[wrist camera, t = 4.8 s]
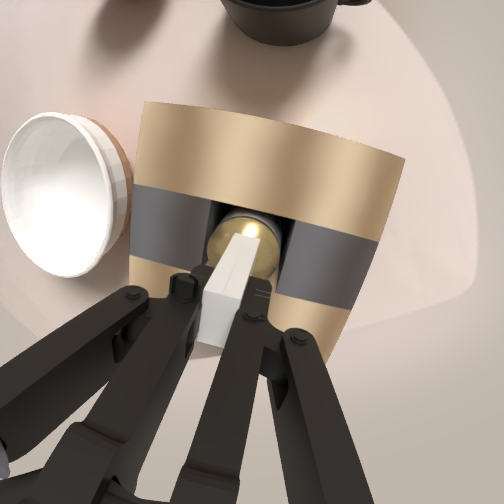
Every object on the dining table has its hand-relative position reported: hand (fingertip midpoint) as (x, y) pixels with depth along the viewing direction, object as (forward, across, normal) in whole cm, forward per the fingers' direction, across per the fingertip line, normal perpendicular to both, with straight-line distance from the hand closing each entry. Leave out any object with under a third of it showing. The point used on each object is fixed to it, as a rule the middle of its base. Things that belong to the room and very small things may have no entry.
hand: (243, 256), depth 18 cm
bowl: (+11, -19, -1) cm, 22 cm away
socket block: (+11, 0, 0) cm, 11 cm away
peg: (+9, 0, 0) cm, 9 cm away
